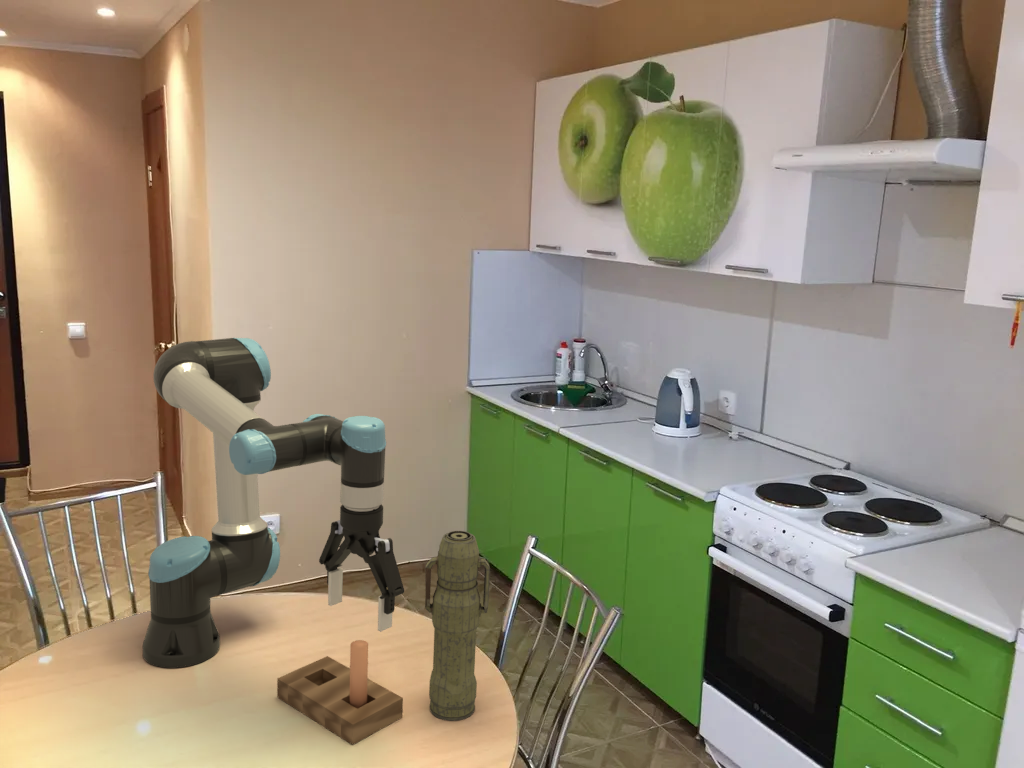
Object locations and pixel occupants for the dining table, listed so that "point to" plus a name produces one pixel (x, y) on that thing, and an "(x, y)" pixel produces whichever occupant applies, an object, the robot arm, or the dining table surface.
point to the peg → (358, 673)
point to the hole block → (338, 700)
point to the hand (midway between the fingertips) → (359, 615)
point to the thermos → (455, 624)
